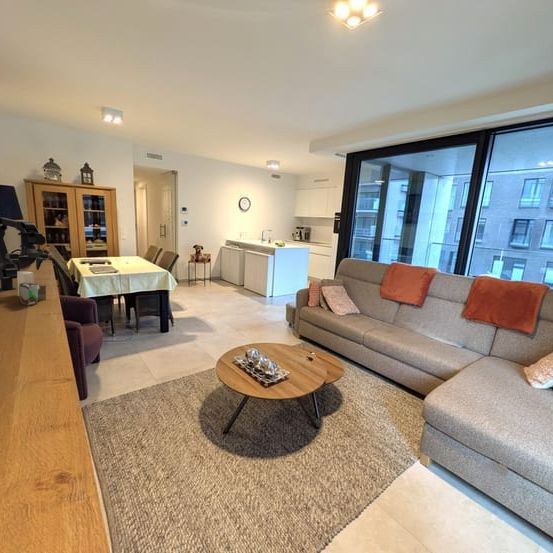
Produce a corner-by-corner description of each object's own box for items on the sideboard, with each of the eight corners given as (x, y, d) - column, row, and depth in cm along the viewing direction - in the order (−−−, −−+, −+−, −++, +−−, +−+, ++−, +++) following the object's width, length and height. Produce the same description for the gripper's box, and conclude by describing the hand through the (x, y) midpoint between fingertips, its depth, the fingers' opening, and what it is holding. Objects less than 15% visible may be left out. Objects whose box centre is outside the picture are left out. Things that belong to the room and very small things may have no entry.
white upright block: (18, 296, 165) (17, 271, 163) (26, 295, 169) (25, 271, 167) (25, 299, 162) (24, 273, 160) (34, 297, 165) (33, 272, 163)
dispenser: (19, 301, 157) (18, 286, 156) (41, 298, 165) (41, 284, 164) (23, 302, 154) (23, 287, 153) (46, 299, 163) (45, 285, 162)
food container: (44, 304, 154) (43, 285, 152) (29, 306, 148) (29, 286, 147) (34, 300, 160) (33, 281, 159) (19, 301, 155) (19, 282, 153)
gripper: (13, 244, 160) (15, 273, 162) (53, 245, 176) (53, 271, 178) (4, 243, 165) (5, 271, 167) (43, 243, 181) (44, 269, 183)
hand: (28, 270), depth 174 cm, fingers open, 9 cm apart
